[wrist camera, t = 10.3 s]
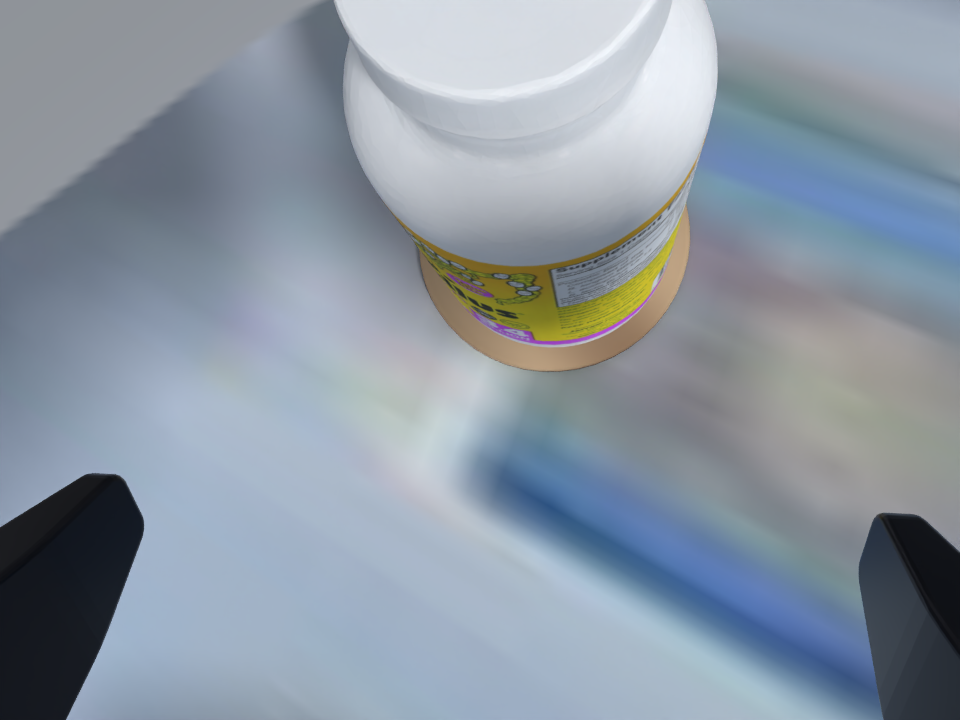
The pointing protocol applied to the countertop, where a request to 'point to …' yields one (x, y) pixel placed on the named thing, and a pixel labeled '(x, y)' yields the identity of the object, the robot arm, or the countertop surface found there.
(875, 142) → the countertop surface
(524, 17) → the supplement bottle
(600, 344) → the cork coaster
